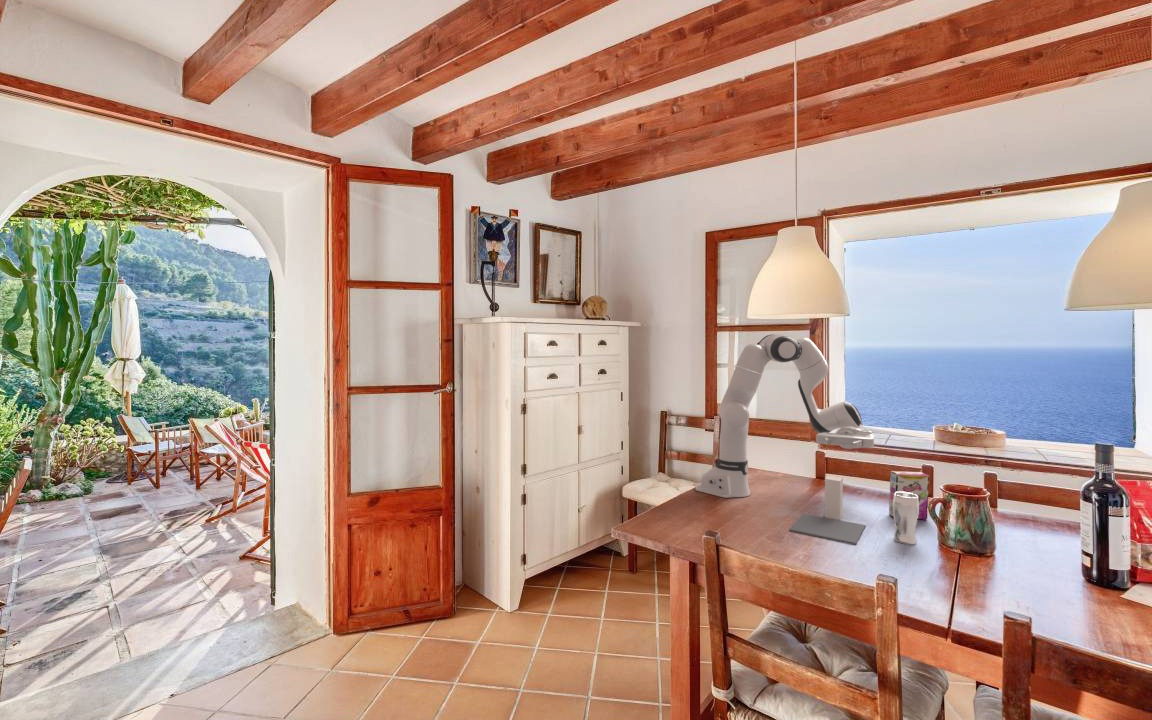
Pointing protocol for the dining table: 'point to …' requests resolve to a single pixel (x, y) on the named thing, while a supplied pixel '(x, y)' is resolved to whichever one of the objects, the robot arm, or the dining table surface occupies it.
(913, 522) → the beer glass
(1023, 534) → the dining table surface
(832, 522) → the rubber mat
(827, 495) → the white block
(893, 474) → the candy bar box
